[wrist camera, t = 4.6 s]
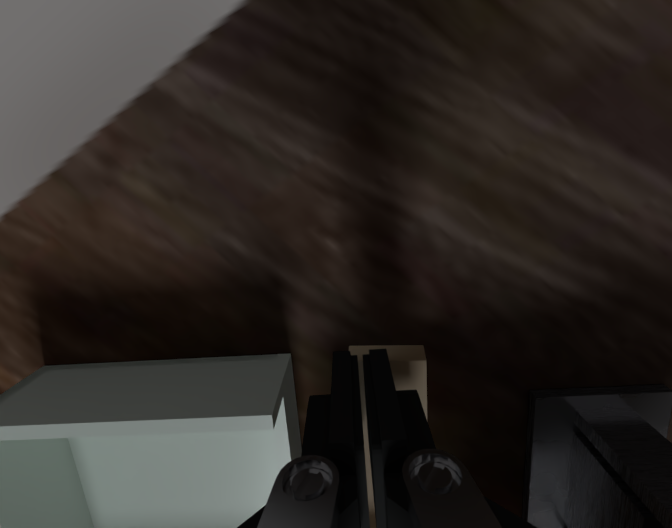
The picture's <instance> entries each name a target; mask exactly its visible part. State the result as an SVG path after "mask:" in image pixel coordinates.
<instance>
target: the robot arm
mask: <svg viewBox="0 0 672 528" xmlns="http://www.w3.org/2000/svg"><path fill="white" fill-rule="evenodd" d="M363 371H364V386H365V400H366V415H367V430H368V442H369V453H370V464H371V474H372V485H373V496H374V507H375V518H376V528H537V527H536V526H534V525H532V524H530V523H529V522H527V521H525V520H524V519H522V518H520V517H519V516H517V515H515V514H513V513H512V512H510V511H508V510H507V509H505V508H503V507H502V506H500V505H498V504H497V503H495V502H493V501H491V500H490V499H488V498H486V497H485V496H483V495H482V493H481V491H480V490H479V488H478V486H477V485H476V483H475V481H474V480H473V478H472V476H471V475H470V473H469V471H468V470H467V468H466V466H465V465H464V464H463V463H462V462H461V460H460V459H458V458H457V457H455V456H454V455H453V454H451V453H448V452H446V451H443V450H438V449H436V447H435V444H434V441H433V438H432V435H431V431H430V428H429V425H428V422H427V419H426V416H425V413H424V410H423V407H422V403H421V400H420V397H419V394H418V392H417V390H416V389H415V390H398V391H396V389H395V384H394V380H393V375H392V371H391V367H390V362H389V358H388V354H387V350H386V348H385V349H370V350H369V354H364V355H363ZM237 528H370V520H369V506H368V492H367V478H366V464H365V450H364V436H363V423H362V410H361V396H360V383H359V370H358V357H357V355H351V353H350V351H338V352H333V364H332V386H331V394H330V395H313V396H310V397H309V402H308V409H307V417H306V424H305V431H304V438H303V446H302V453H301V457H298V458H295V459H294V460H292V461H290V462H288V463H287V464H286V465H285V466H284V467H283V468H282V469H281V470H280V472H279V474H278V475H277V477H276V480H275V482H274V485H273V488H272V490H271V493H270V495H269V498H268V500H267V503H266V505H265V506H264V507H262V508H261V509H260V510H259V511H257V512H256V513H255V514H254V515H252V516H251V517H250V518H248V519H247V520H246V521H245V522H243V523H242V524H241V525H239V526H238V527H237Z"/></svg>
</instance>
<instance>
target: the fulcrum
mask: <svg viewBox="0 0 672 528" xmlns="http://www.w3.org/2000/svg"><path fill="white" fill-rule="evenodd" d="M671 409H672V390H671V389H670V388H668V387H667V386H665V385H664V384H660V385H637V386H614V387H591V388H568V389H545V390H530V395H529V411H528V427H527V443H526V459H525V475H524V491H523V507H522V519H524V520H525V521H527V522H529V523H530V524H532V525H534V526H536V527H537V528H672V443H671V442H670V441H668V440H667V439H666V438H667V432H668V426H669V420H670V415H671Z"/></svg>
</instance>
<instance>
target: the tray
mask: <svg viewBox="0 0 672 528" xmlns="http://www.w3.org/2000/svg"><path fill="white" fill-rule="evenodd" d="M301 453H302V447H301V439H300V430H299V421H298V412H297V403H296V395H295V386H294V377H293V368H292V359H291V353H289V354H269V355H249V356H229V357H209V358H189V359H170V360H150V361H130V362H110V363H90V364H70V365H50V366H43V367H41V368H40V369H38V370H37V371H35V372H34V373H32V374H31V375H29V376H28V377H26V378H25V379H23V380H22V381H20V382H19V383H17V384H16V385H14V386H13V387H11V388H10V389H8V390H7V391H5V392H4V393H2V394H1V395H0V528H237V527H238V526H239V525H241V524H242V523H243V522H245V521H246V520H247V519H248V518H250V517H251V516H252V515H254V514H255V513H256V512H257V511H259V510H260V509H261V508H262V507H264V506H265V505H266V503H267V500H268V498H269V495H270V493H271V490H272V488H273V485H274V482H275V480H276V477H277V475H278V474H279V472H280V470H281V469H282V468H283V467H284V466H285V465H286V464H287V463H288V462H290V461H292V460H294V459H295V458H298V457H301Z"/></svg>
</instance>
